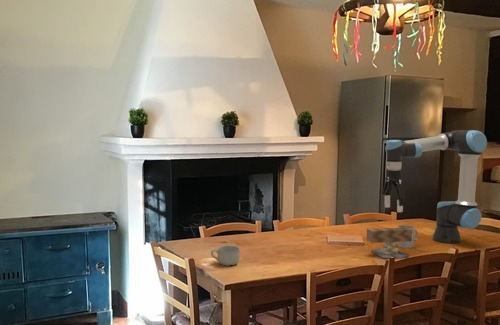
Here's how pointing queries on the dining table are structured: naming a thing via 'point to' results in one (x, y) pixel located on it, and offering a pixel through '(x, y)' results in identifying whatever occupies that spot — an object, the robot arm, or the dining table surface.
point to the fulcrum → (389, 251)
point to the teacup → (227, 254)
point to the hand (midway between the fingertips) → (393, 209)
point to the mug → (410, 243)
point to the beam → (389, 235)
